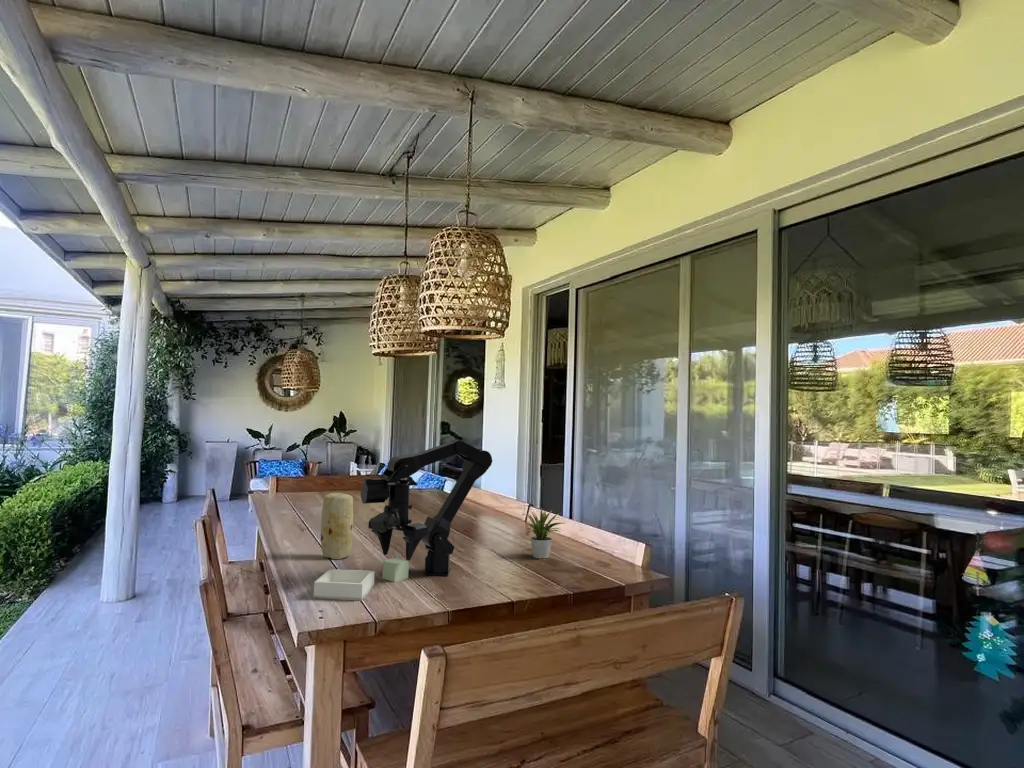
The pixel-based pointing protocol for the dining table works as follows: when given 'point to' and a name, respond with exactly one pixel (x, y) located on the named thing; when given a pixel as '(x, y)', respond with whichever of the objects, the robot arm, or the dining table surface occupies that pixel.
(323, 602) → the dining table surface
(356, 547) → the dining table surface
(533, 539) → the house plant
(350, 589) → the bin
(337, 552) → the food model
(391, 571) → the green block
